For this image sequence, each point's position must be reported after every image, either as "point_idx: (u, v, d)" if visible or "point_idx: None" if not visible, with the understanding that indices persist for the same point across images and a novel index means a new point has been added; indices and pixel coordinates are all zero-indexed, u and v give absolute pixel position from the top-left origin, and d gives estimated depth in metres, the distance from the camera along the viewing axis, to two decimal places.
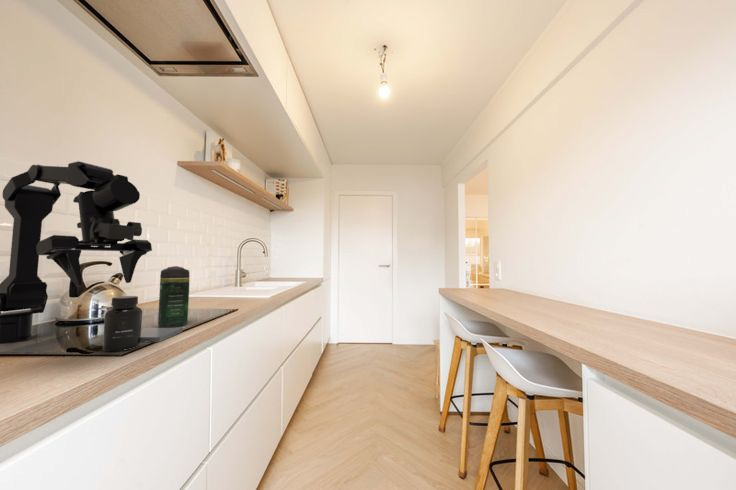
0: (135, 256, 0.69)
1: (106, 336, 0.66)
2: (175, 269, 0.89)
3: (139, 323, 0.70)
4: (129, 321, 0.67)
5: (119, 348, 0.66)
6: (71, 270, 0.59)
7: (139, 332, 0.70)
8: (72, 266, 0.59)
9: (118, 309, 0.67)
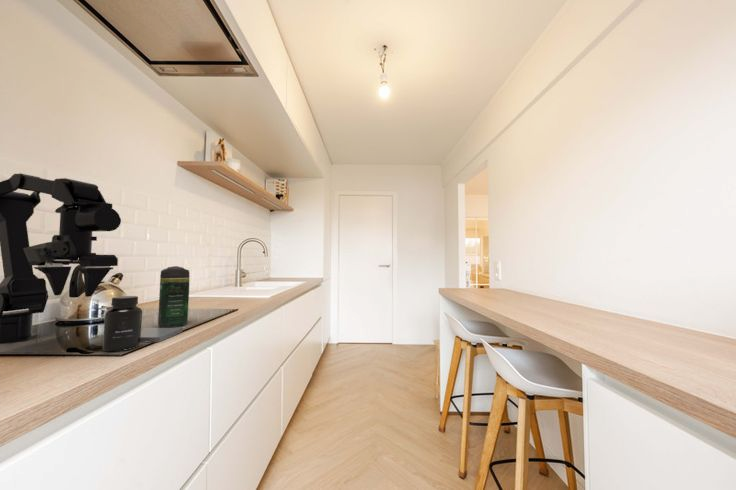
0: (82, 272, 0.68)
1: (106, 336, 0.66)
2: (175, 269, 0.89)
3: (139, 323, 0.70)
4: (129, 321, 0.67)
5: (119, 348, 0.66)
6: None
7: (139, 332, 0.70)
8: None
9: (118, 309, 0.67)
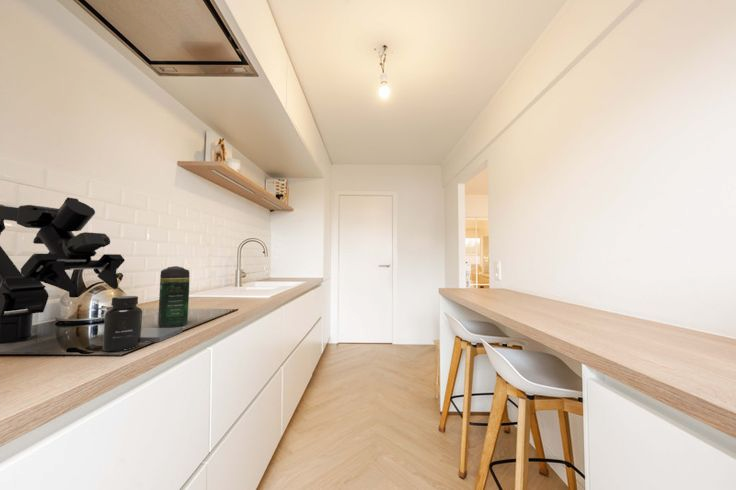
0: (112, 265, 0.77)
1: (106, 336, 0.66)
2: (175, 269, 0.89)
3: (139, 323, 0.70)
4: (129, 321, 0.67)
5: (119, 348, 0.66)
6: (62, 281, 0.65)
7: (139, 332, 0.70)
8: (61, 276, 0.65)
9: (118, 309, 0.67)
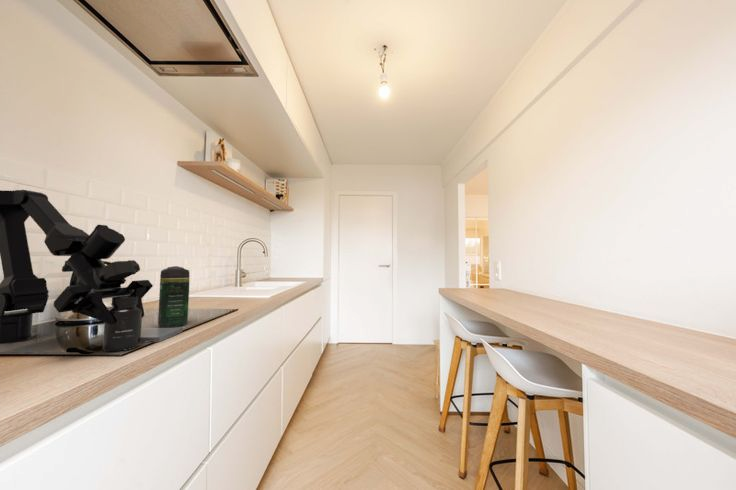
0: (138, 293, 0.74)
1: (106, 336, 0.66)
2: (175, 269, 0.89)
3: (139, 323, 0.70)
4: (129, 321, 0.67)
5: (119, 348, 0.66)
6: (100, 312, 0.65)
7: (139, 332, 0.70)
8: (100, 307, 0.64)
9: (118, 309, 0.67)
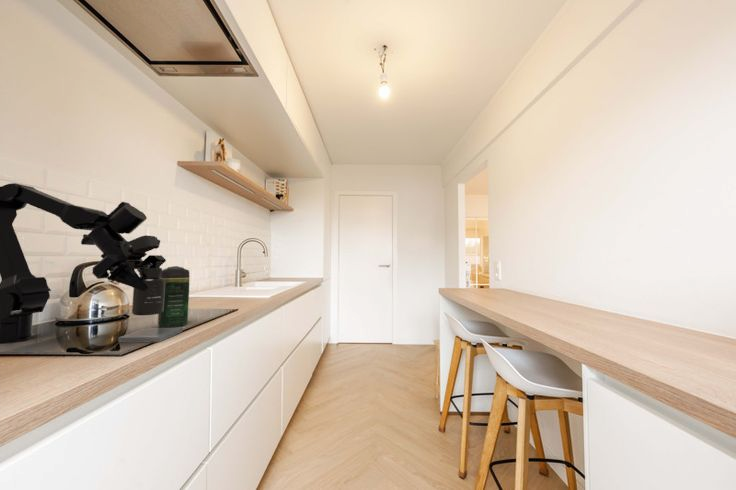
0: (157, 266, 0.81)
1: (137, 302, 0.73)
2: (175, 269, 0.89)
3: (164, 291, 0.78)
4: (158, 289, 0.76)
5: (150, 312, 0.74)
6: (133, 280, 0.72)
7: (164, 299, 0.78)
8: (134, 275, 0.72)
9: (148, 278, 0.75)
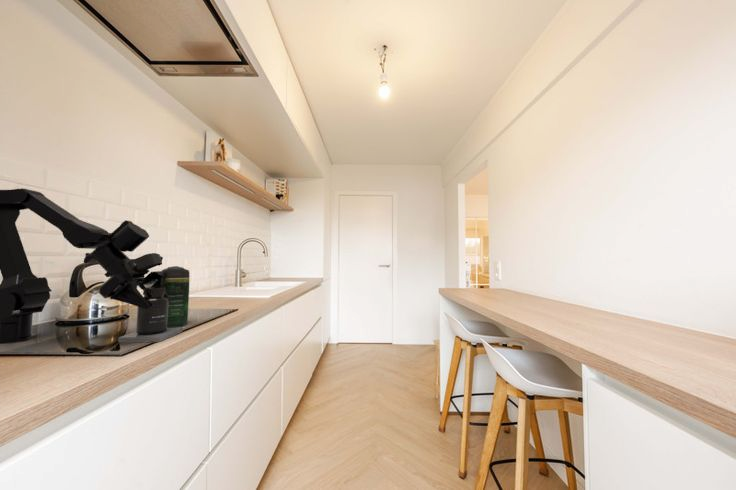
0: (161, 282, 0.84)
1: (142, 321, 0.75)
2: (175, 269, 0.89)
3: None
4: (162, 308, 0.78)
5: (155, 331, 0.76)
6: (136, 298, 0.73)
7: (167, 318, 0.80)
8: (137, 294, 0.73)
9: (152, 298, 0.77)
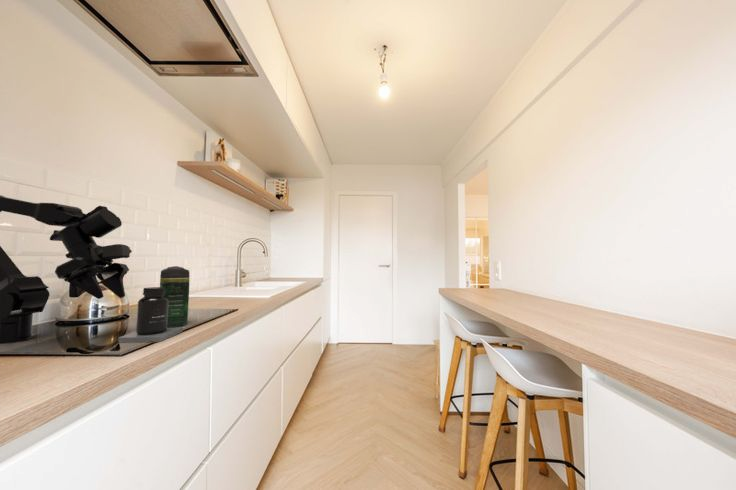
0: (121, 275, 0.82)
1: (142, 321, 0.75)
2: (175, 269, 0.89)
3: None
4: (162, 308, 0.78)
5: (155, 331, 0.76)
6: (92, 286, 0.71)
7: (167, 318, 0.80)
8: (94, 281, 0.71)
9: (152, 298, 0.77)
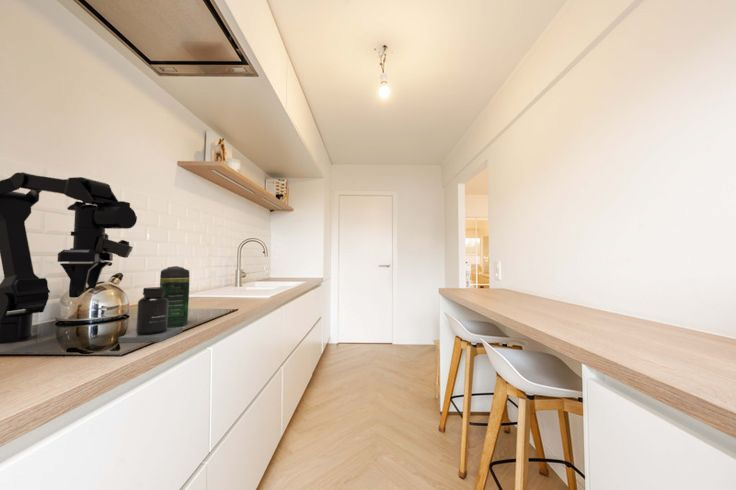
0: (104, 266, 0.79)
1: (142, 321, 0.75)
2: (175, 269, 0.89)
3: None
4: (162, 308, 0.78)
5: (155, 331, 0.76)
6: (81, 278, 0.69)
7: (167, 318, 0.80)
8: (86, 275, 0.69)
9: (152, 298, 0.77)
